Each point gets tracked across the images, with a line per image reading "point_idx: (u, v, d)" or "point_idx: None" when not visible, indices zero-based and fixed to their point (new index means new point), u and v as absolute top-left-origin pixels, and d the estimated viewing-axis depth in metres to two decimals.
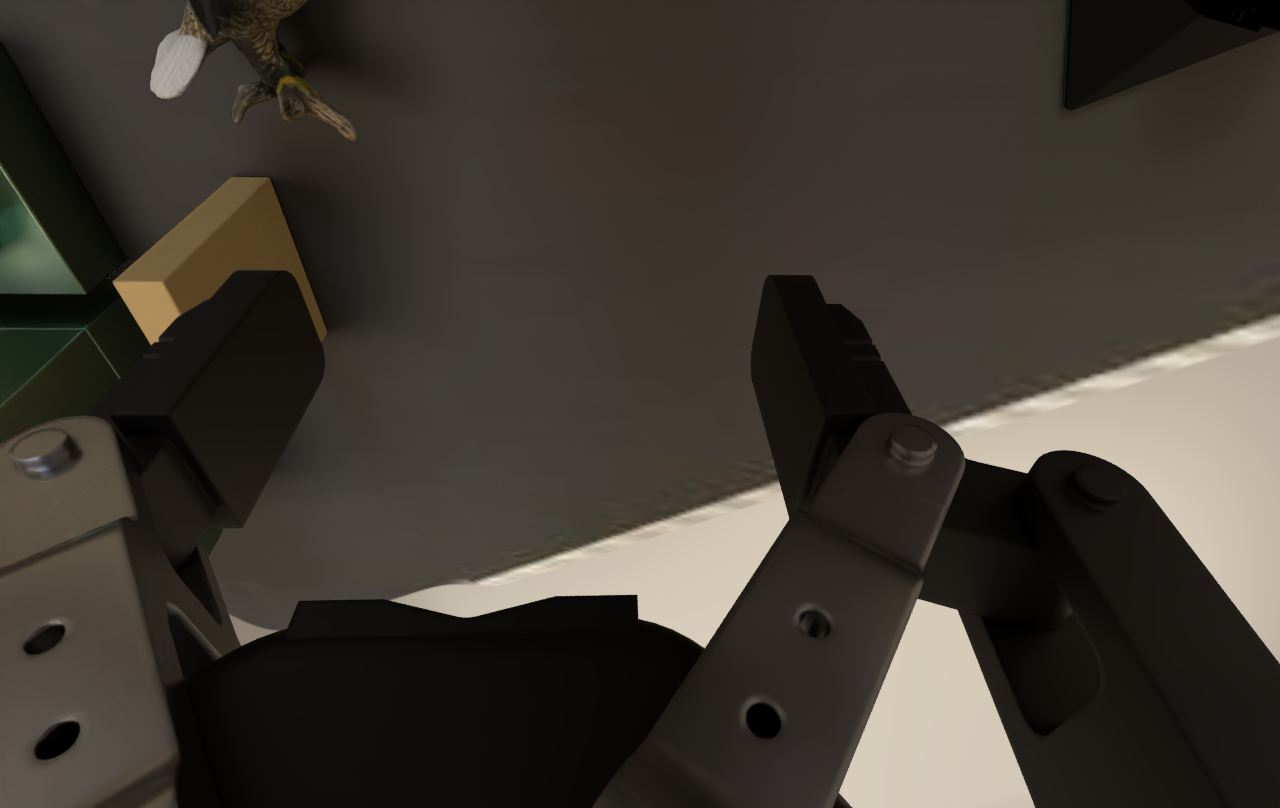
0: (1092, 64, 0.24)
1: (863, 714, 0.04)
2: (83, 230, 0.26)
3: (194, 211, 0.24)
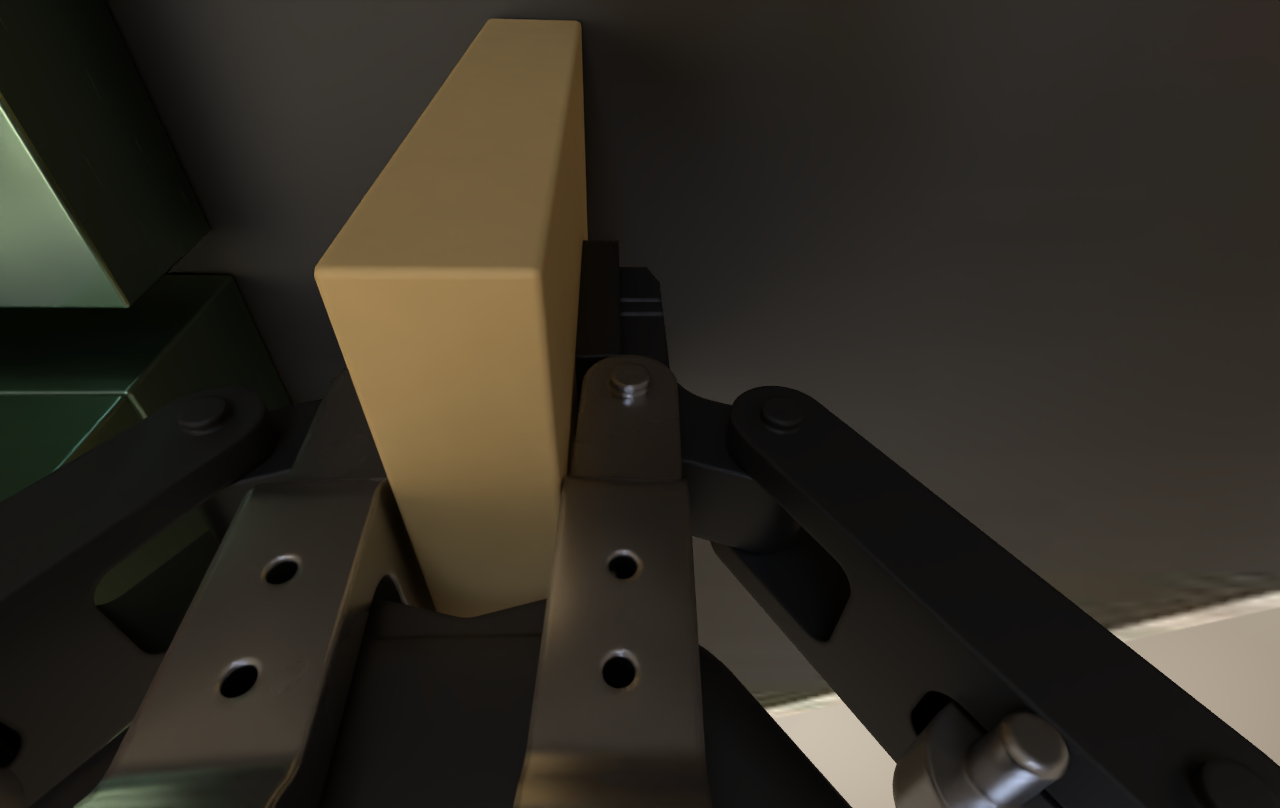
0: None
1: (691, 617, 0.05)
2: (124, 150, 0.11)
3: (460, 70, 0.08)
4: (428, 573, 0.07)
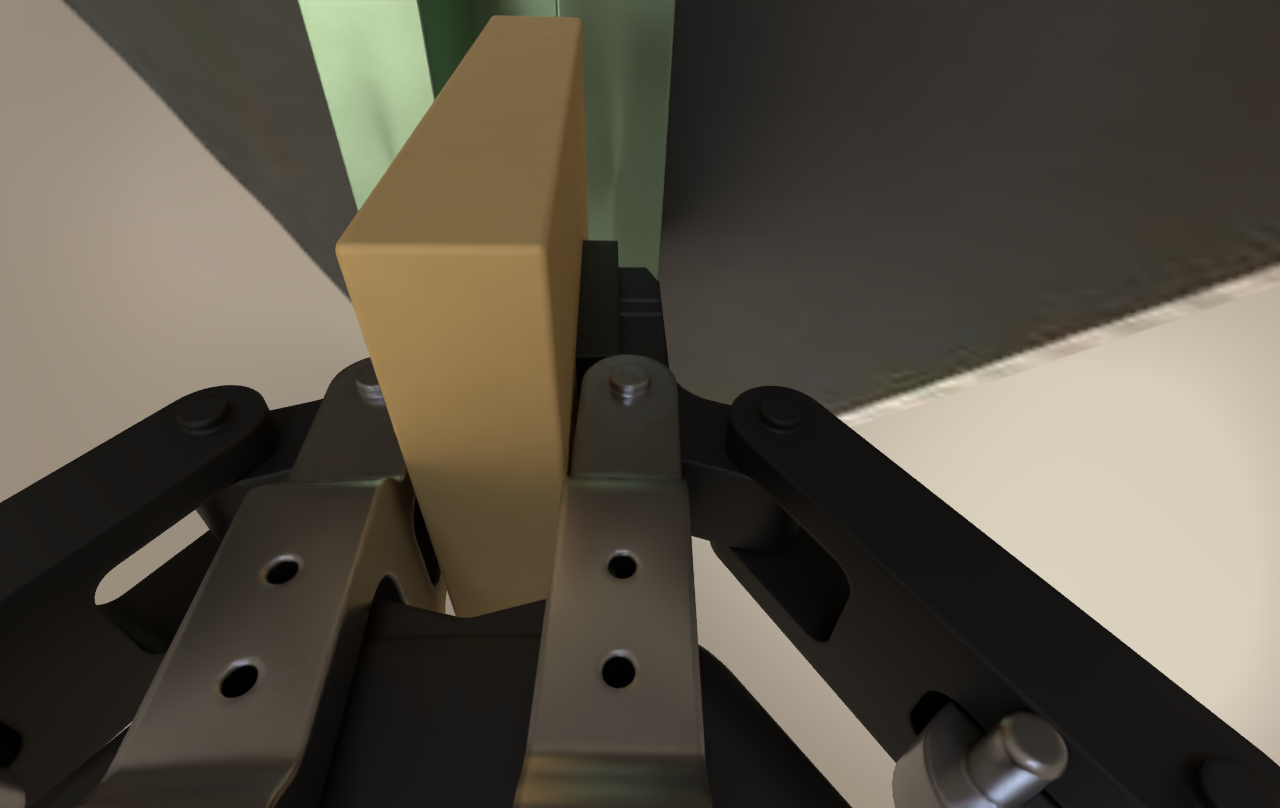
0: None
1: (691, 617, 0.05)
2: None
3: (465, 64, 0.08)
4: (437, 543, 0.07)
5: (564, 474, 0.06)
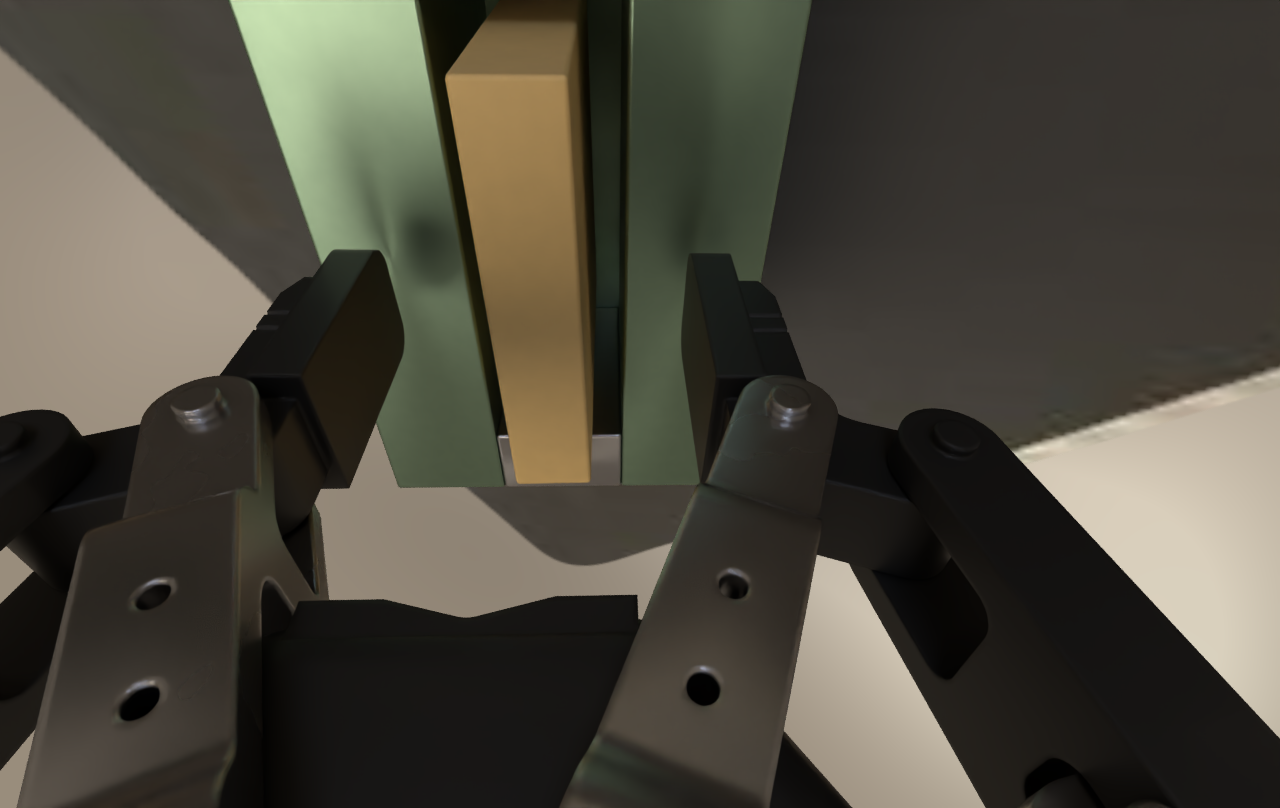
0: None
1: (791, 659, 0.05)
2: None
3: (503, 1, 0.12)
4: (491, 317, 0.10)
5: (578, 256, 0.10)
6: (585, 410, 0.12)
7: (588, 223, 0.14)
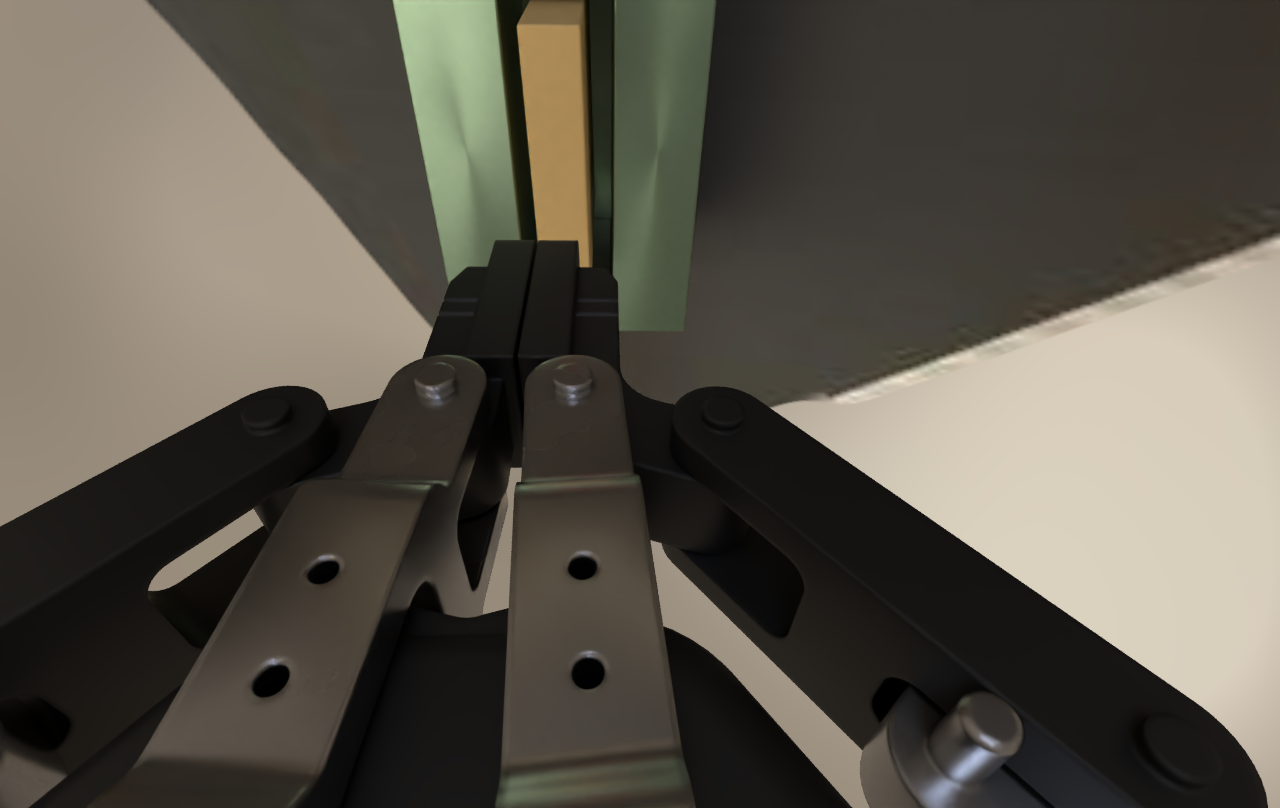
0: None
1: (655, 610, 0.05)
2: None
3: None
4: (533, 172, 0.18)
5: (584, 133, 0.17)
6: (588, 242, 0.19)
7: None
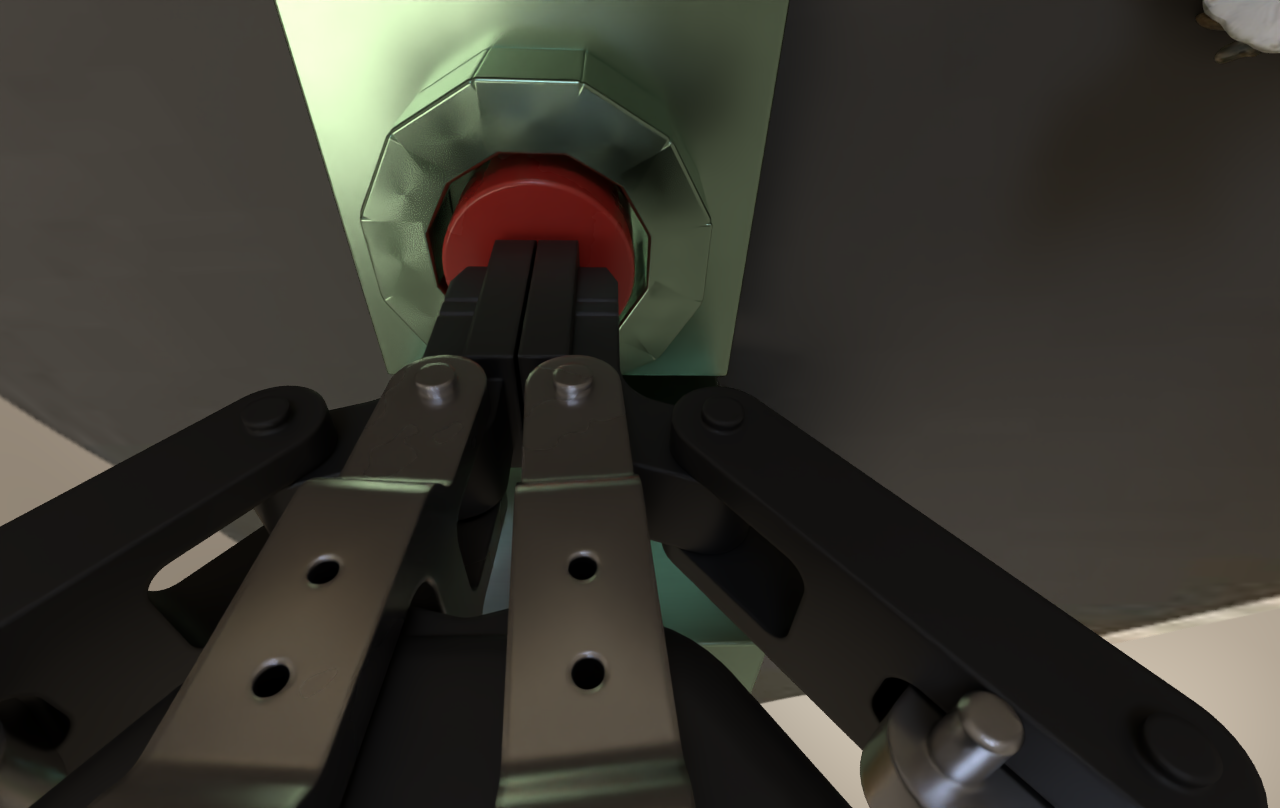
0: None
1: (655, 610, 0.05)
2: None
3: None
4: None
5: None
6: None
7: None
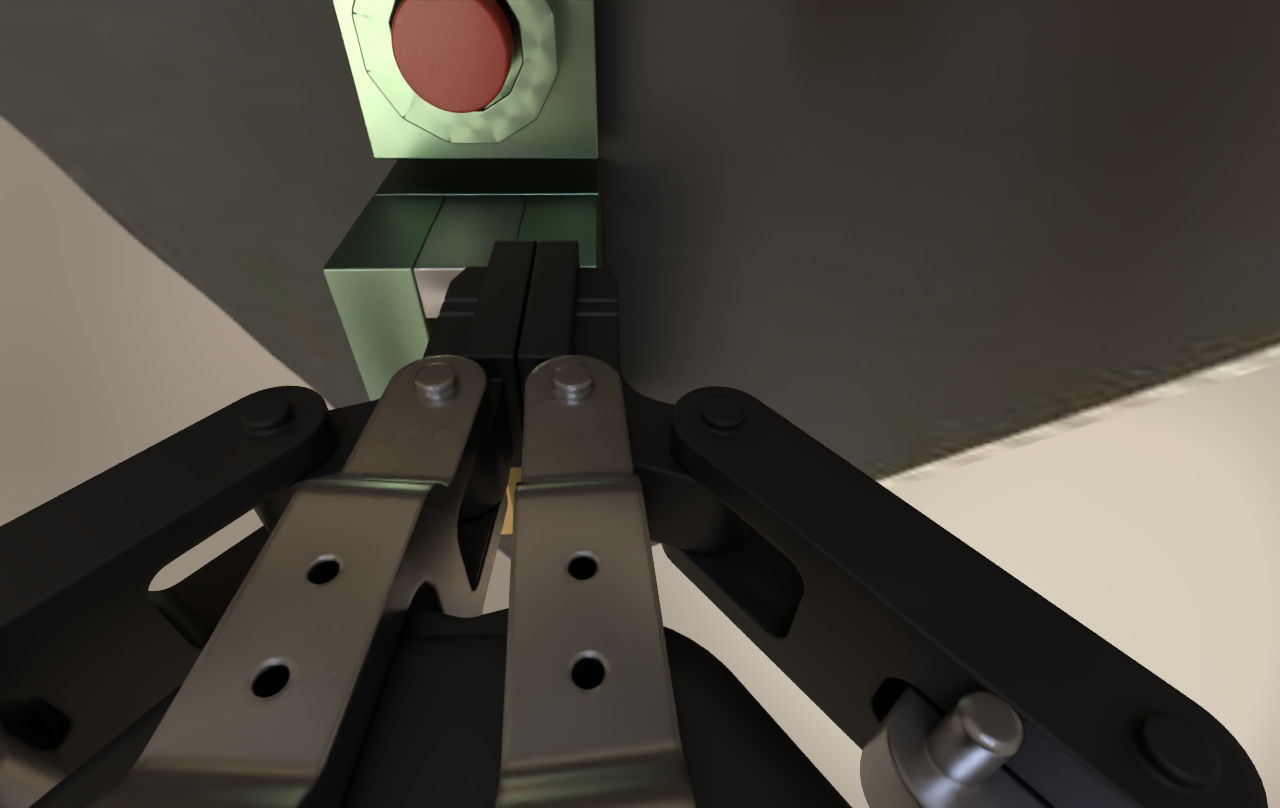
0: None
1: (656, 610, 0.05)
2: (597, 91, 0.25)
3: None
4: None
5: None
6: (511, 500, 0.24)
7: None
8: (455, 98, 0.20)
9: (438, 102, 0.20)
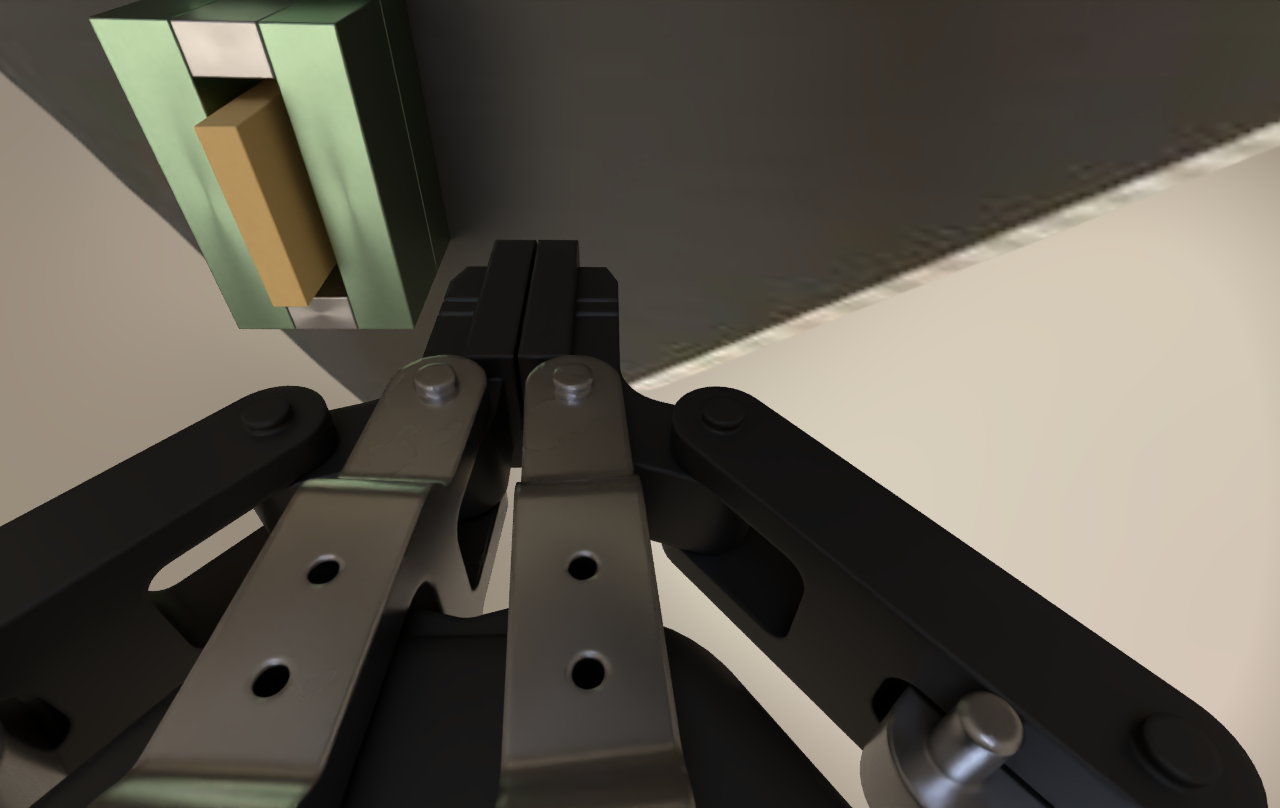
0: None
1: (655, 610, 0.05)
2: None
3: (253, 87, 0.27)
4: (236, 219, 0.26)
5: (263, 193, 0.25)
6: (291, 265, 0.27)
7: None
8: None
9: None
